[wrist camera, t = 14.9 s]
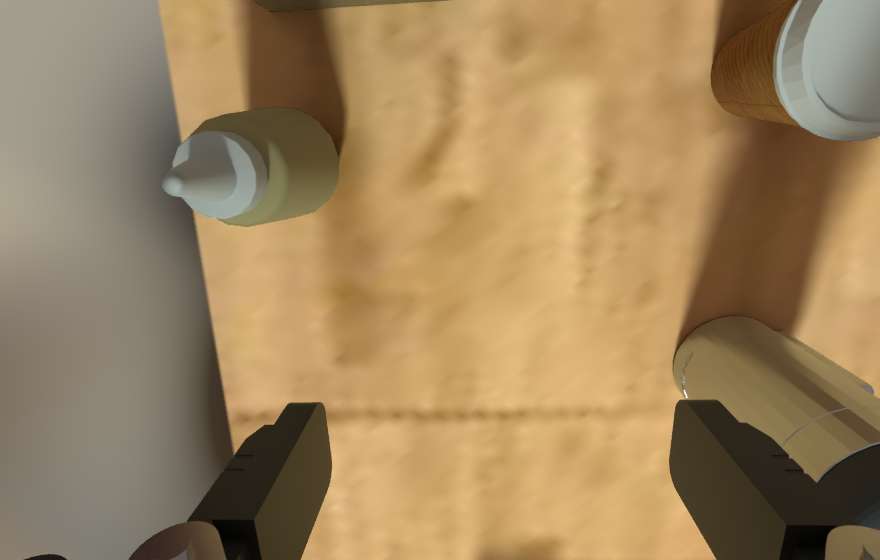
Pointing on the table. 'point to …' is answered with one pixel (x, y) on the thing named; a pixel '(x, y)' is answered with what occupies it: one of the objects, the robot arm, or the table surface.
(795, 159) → the table surface
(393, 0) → the block
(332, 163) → the squeeze bottle
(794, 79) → the disposable coffee cup
